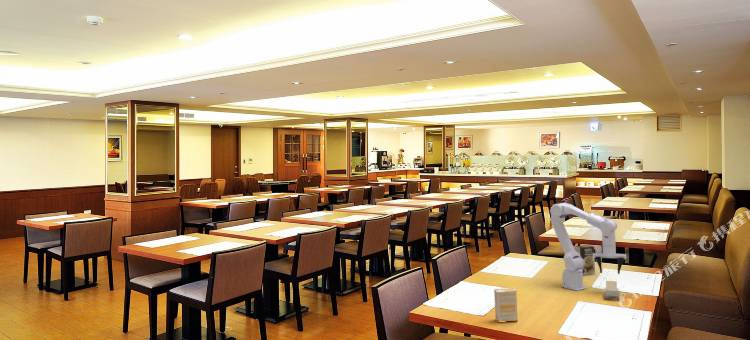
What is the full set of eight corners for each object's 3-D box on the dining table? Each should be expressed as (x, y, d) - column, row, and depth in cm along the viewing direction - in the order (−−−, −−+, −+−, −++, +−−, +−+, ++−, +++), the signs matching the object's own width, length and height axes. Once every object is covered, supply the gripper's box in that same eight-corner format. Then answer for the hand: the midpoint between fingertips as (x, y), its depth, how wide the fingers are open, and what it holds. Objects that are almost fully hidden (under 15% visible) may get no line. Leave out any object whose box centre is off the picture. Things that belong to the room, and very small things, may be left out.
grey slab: (605, 295, 228) (605, 290, 228) (605, 292, 233) (605, 287, 233) (619, 296, 226) (618, 291, 226) (618, 293, 231) (618, 288, 231)
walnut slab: (604, 301, 228) (603, 295, 228) (603, 297, 234) (603, 292, 234) (619, 302, 226) (619, 297, 226) (618, 298, 232) (618, 293, 231)
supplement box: (514, 318, 207) (513, 287, 207) (517, 322, 202) (516, 290, 202) (494, 319, 207) (493, 288, 207) (498, 323, 202) (497, 291, 202)
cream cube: (606, 290, 228) (606, 280, 228) (606, 287, 232) (606, 278, 232) (617, 291, 226) (616, 281, 226) (616, 288, 231) (616, 279, 230)
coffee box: (582, 276, 275) (581, 247, 275) (574, 273, 281) (573, 245, 281) (595, 274, 277) (594, 246, 277) (587, 272, 284) (587, 244, 283)
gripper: (592, 246, 236) (593, 274, 236) (626, 246, 230) (627, 275, 230) (592, 243, 242) (593, 270, 243) (625, 244, 237) (626, 272, 237)
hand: (609, 273), depth 237 cm, fingers open, 7 cm apart
